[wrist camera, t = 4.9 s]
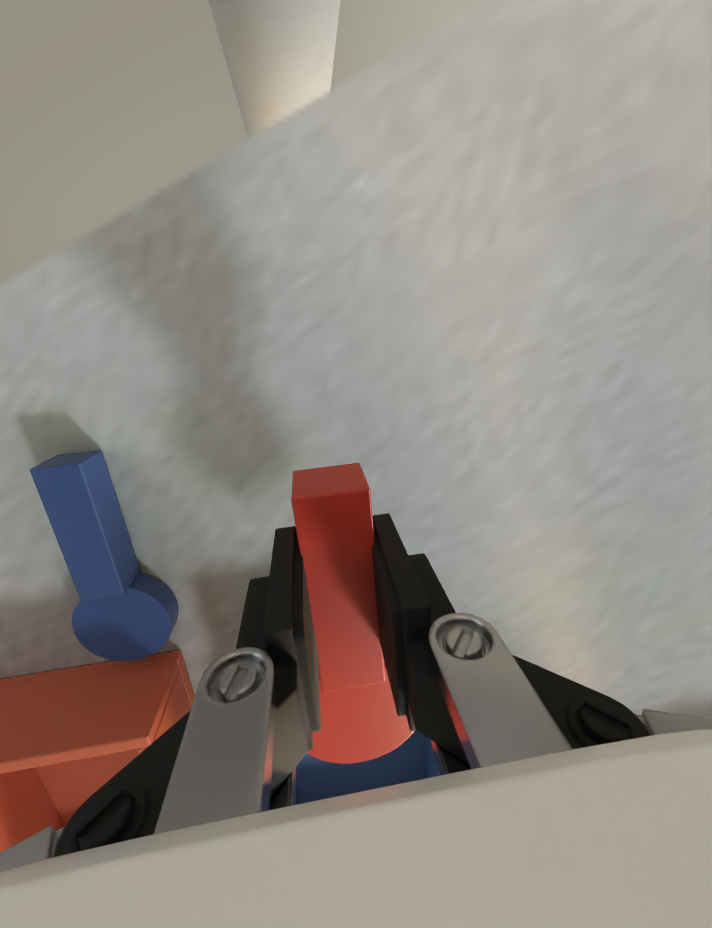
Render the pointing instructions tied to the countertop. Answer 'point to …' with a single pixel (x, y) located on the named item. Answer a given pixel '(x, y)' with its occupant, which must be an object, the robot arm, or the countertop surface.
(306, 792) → the blue bin
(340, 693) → the red spoon
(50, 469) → the blue spoon
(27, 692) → the terracotta bin
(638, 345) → the countertop surface
